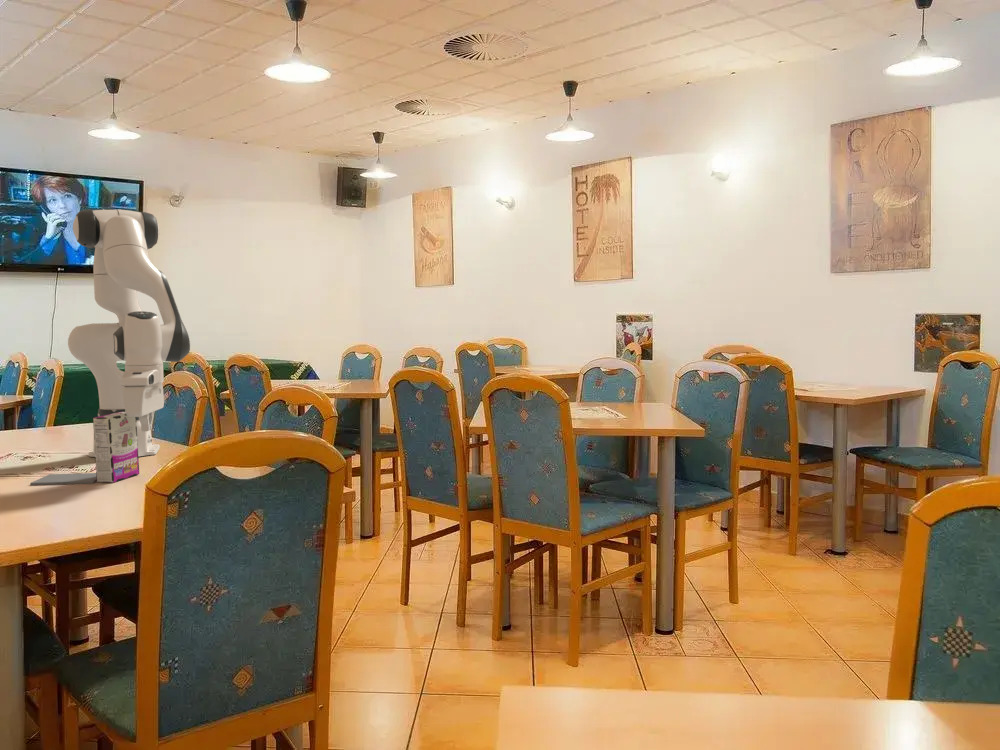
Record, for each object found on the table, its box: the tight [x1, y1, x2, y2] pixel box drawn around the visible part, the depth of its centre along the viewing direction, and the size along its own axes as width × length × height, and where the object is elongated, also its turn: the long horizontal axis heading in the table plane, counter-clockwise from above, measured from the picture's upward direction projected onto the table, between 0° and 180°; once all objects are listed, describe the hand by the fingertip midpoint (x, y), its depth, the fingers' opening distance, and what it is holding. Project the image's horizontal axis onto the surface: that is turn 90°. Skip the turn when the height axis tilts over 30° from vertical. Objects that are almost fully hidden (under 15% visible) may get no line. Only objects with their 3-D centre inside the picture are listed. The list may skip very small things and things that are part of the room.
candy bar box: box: [92, 412, 140, 484], centre depth 207 cm, size 11×5×16 cm, turn 171°
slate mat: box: [30, 472, 98, 486], centre depth 207 cm, size 11×14×1 cm
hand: (146, 430), depth 208 cm, fingers closed
